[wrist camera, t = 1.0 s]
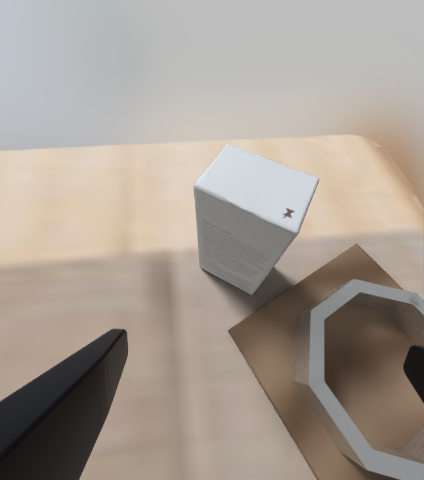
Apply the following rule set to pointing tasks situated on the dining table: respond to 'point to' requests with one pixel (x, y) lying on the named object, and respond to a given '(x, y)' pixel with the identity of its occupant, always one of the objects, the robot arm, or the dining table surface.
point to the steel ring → (321, 397)
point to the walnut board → (336, 367)
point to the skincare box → (248, 215)
